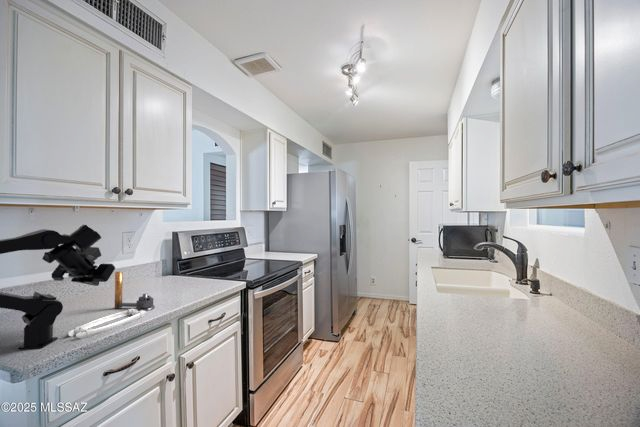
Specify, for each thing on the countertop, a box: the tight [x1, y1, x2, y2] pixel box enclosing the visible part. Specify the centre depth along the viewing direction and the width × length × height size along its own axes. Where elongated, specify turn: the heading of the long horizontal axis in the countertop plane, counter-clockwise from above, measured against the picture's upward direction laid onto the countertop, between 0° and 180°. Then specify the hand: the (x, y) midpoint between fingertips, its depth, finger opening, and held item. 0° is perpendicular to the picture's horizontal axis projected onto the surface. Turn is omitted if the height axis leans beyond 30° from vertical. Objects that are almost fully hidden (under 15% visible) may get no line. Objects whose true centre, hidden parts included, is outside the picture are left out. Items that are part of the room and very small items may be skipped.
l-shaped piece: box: [114, 271, 154, 309], centre depth 121 cm, size 14×4×15 cm, turn 91°
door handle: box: [66, 307, 148, 339], centre depth 104 cm, size 3×10×25 cm
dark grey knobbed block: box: [134, 293, 156, 312], centre depth 121 cm, size 7×7×6 cm
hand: (97, 284), depth 106 cm, fingers closed
